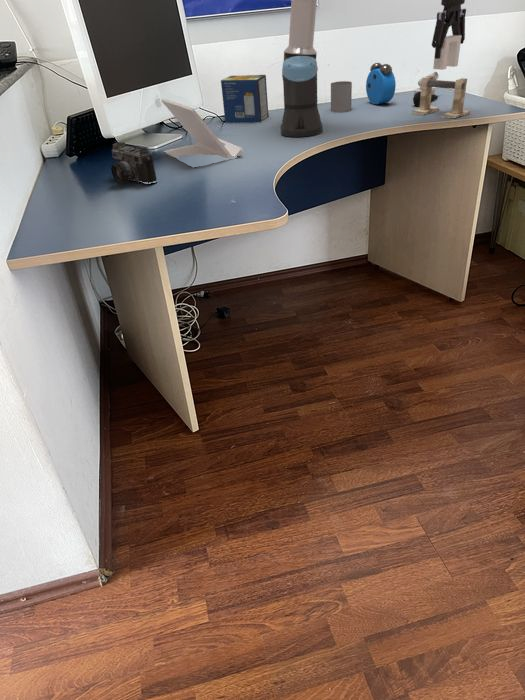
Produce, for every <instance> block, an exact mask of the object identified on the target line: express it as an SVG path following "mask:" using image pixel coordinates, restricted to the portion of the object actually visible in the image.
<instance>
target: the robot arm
mask: <svg viewBox="0 0 525 700" xmlns="http://www.w3.org/2000/svg"><path fill="white" fill-rule="evenodd" d="M290 1H291V2H290V3H291V5H290V20H289V21H290V22H289V36H288V37H289V38H288V46H287V47H286V48H285V49H284V50H283V62H282V69H281V71H282V72H281V78H282V83H283V84H282V85H283V86H282V87H283V103H284V104H283V105H284V110H283V115H282V121H281V125H280V127H279V128H280V130H279V131H280V134H281V135H282V136H283V137H288V138H289V137H291V138H303V137H304V138H305V137H311V136H315V135H316V136H317V135H319V134H321V133H323V130H324V129H323V128H324V127H323V126H324V125H323V122H322V119H321V116H320V112H319V107H318V70H319V69H318V62H317V54H318V52H317V51H316V49H315V48H314V39H315V38H314V37H315V26H316V14H317V3H318V2H317V1H318V0H290ZM465 1H466V0H441V3H440V5H441V6H443V10H442V12H440V11H439V12H437V13H436V22H435V26H434V32H433V36H432V41H431V46H432V48H433V49H434V56H435V61H434V60H433V66H434V69H433V70H441V69H442V60H443V51H444V48H442V46H443V43H444V39H445V38H446V36H448V35H447V34H448V32H449V29H450V28H451V33H452V34H451V35H461V43H460V45H461V44H464V41H465V39H466V13H467V8H462V5H464V4H465Z"/></svg>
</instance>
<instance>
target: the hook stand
mask: <svg viewBox="0 0 525 700" xmlns="http://www.w3.org/2000/svg"><path fill="white" fill-rule="evenodd" d="M426 76H427V77H426ZM426 76H424V77H423V76H422V78H421V79H422V85H421V96H420V106H418V108H417V109H415V110H412V111H411V114H412V115H417V114H421V115H420V116H425V115H428V114H427V113H429V114H431V112H432V113H435V112H438V111H440V107H438V106H431V102H432V101H431V94H432V88H441V89H451V90H454V91H453V100H452V106H451V107H452V108H451V111H450V112H445V113H443V114H441V118H442V117H449V118H456V117H459V116H462V115H464V116H466V115H465V114H467V115H469V114H470V112H471V110H465V109H464V106H465V97H466V90H467V83H468V78H459V79H456V80H455V81H454V80H453V81H452V80H440V79H439V80H438V79H437V80H433V76H428V75H426ZM437 110H438V111H437ZM434 111H435V112H434ZM468 113H469V114H468ZM424 114H425V115H424ZM462 117H463V116H462ZM459 118H460V117H459ZM456 119H457V118H456Z"/></svg>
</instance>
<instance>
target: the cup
mask: <svg viewBox="0 0 525 700" xmlns="http://www.w3.org/2000/svg"><path fill="white" fill-rule="evenodd" d="M352 85H353V83H352V81H348V80H347V81H346V80H343V81H334V82H331V83H330V112H332V111H333V112H332V113H347V112H350V111H352V97H353V96H352V90H353V89H352V88H353V86H352ZM346 111H347V112H346Z"/></svg>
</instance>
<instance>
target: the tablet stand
mask: <svg viewBox="0 0 525 700" xmlns="http://www.w3.org/2000/svg"><path fill="white" fill-rule="evenodd" d="M160 101H161V103H163V105H164V106H165V107H166V108H167V109H168V111H169V112H170V113H171V114H172V116H173V117H174V118H175V119H176V120H177V121H178V122H179V124H181V126H182V127H183V128H184V129H185V130H186V132H187V133H188V134H189V135H190V136H191V138H193V140H194V141H195V143H194V144H191V145H187V146H185V145H184V146H181V147H176V148H172V149H167V150H164V151H163V152H166V153H167V154H169V155H171V156H173V157H176V158H179V155H180V156H181V155H187V154H188V155H191V156H194V155H195V154H196V155H198V154H204V155H208V154H209V155H219V156H222V157H225V158H231V157H232V156H234V157H236V156H238V157H239V156H240V155H241V154H242V153H243V151H244V149H243V148H242V147H241V146H238V145H235V144H233V143H230V142H228V141H226V140H223V139H220V138H218V137H217V135H215V134H214V132H213V130H212V129H211V128H210V127H209V126H208V124H206V123H205V121H204V120H203V119H202V117H201V116H200V115H199V114H198V112H197V111H196V110H195V109H194V108H193V107H190V106H188V105H185V104H181V103H178V102H176V101H173V100H170V99H167V98H163V97H162V99H161V100H160ZM167 154H166V155H167ZM169 155H168V156H169ZM171 156H170V157H171Z"/></svg>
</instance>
